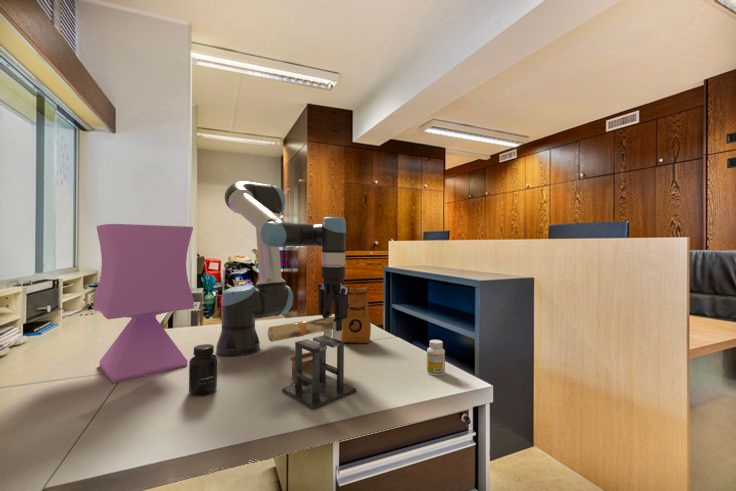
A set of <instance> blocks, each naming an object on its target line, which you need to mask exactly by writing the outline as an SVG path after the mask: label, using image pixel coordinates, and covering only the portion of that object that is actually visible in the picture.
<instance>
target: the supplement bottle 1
mask: <svg viewBox="0 0 736 491" xmlns="http://www.w3.org/2000/svg"><path fill="white" fill-rule="evenodd" d="M214 347H215V346H214V345H213V344H212V343H211V344H209V343H205V344H199V345H195V346H194V347H193V352H192V353H193V357H191V358H190V360H189V365H188V393H189V395H190V396H194V397H202V396H203V397H205V396H209V395H210V394H213V393H215V391H216V390H217V388H218V387H217V386H218V357H217V356H216V354H214V352H215V349H214Z"/></svg>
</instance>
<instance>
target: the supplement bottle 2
mask: <svg viewBox="0 0 736 491" xmlns="http://www.w3.org/2000/svg"><path fill="white" fill-rule="evenodd" d="M443 343H444V342H443V341H442V340H440V339H431V340H429V347H427V350H426V371H427V373H428V374H429V375H431V376H434V377H435V376H436V377H437V376H438V377H441V376H443V375H445V374H446V373H445V372H446V368H445V367H446V363H445V362H446V350H445V349H444V348H443V346H444V344H443Z"/></svg>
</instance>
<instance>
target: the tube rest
mask: <svg viewBox="0 0 736 491" xmlns="http://www.w3.org/2000/svg"><path fill="white" fill-rule="evenodd" d="M290 361H291V378H292V379H294V380H295V355H292V356H290ZM302 371H304V372H306V373H308V374H310V375H312V352H310V351H307V352H302ZM302 381H305V380H304V379H302Z"/></svg>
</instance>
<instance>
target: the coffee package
mask: <svg viewBox="0 0 736 491" xmlns="http://www.w3.org/2000/svg"><path fill="white" fill-rule="evenodd" d="M348 288H349V289H350V291H349V294H348V310H347V319H343V320H342V321H343V324H342V330H341V340H340V341H343V342H344V343H349V344H350V343H351V344H352V343H353V344H369V341H370V339H371V333H372V329H371V328H372V325H371V320H370V316H369V314H370V313H369V312H370V311H369V298H368V296H369V295H368V294H369V293H368V287H355V288H354V287H348Z"/></svg>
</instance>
